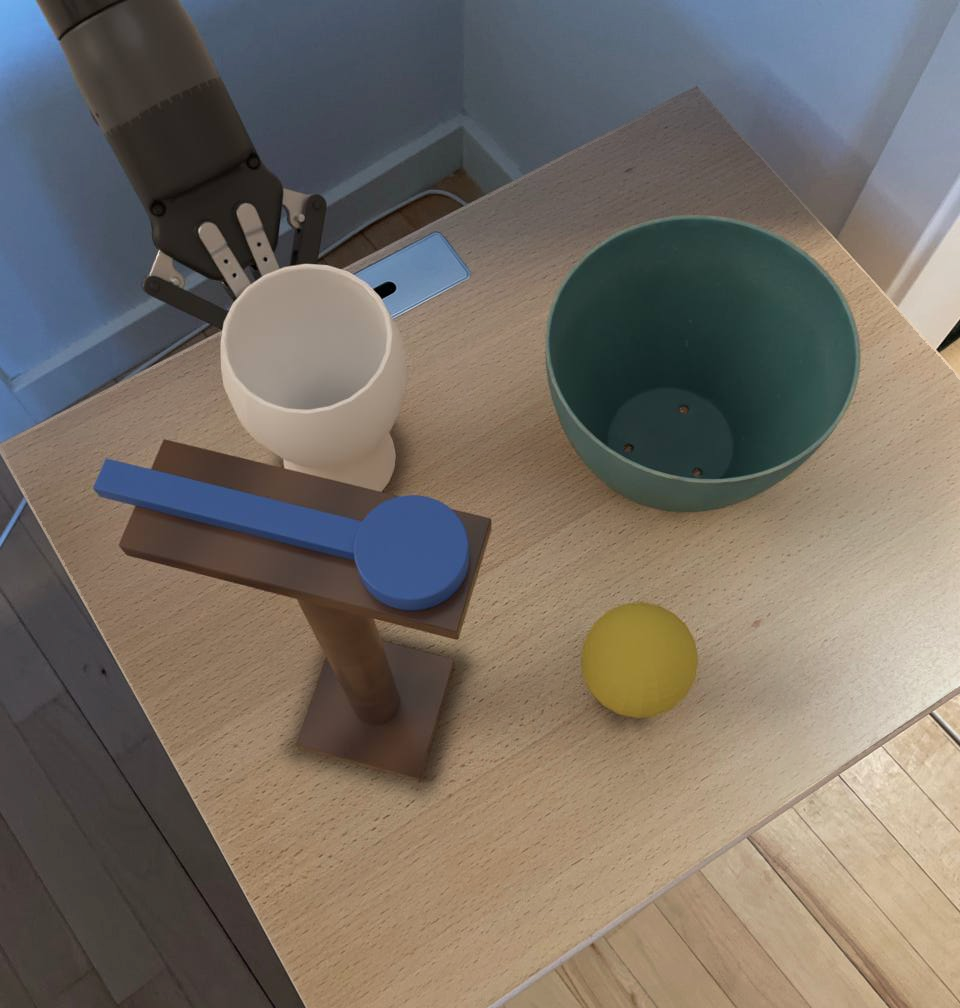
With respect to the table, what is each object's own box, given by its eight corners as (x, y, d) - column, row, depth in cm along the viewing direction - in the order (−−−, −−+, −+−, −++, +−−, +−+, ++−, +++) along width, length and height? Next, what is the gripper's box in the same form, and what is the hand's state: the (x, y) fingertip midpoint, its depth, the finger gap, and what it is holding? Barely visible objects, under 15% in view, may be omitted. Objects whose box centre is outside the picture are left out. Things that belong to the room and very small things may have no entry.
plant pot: (822, 558, 68) (889, 469, 56) (549, 577, 68) (560, 491, 56) (778, 328, 74) (830, 204, 62) (527, 345, 74) (532, 224, 62)
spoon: (85, 530, 41) (73, 516, 39) (126, 436, 42) (116, 420, 41) (452, 623, 39) (450, 612, 38) (482, 522, 40) (482, 509, 39)
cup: (445, 479, 70) (440, 361, 56) (313, 558, 68) (271, 458, 54) (364, 365, 73) (339, 223, 58) (234, 438, 71) (175, 311, 56)
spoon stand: (253, 736, 64) (103, 579, 40) (294, 622, 67) (176, 407, 42) (466, 794, 63) (446, 668, 38) (500, 675, 65) (501, 485, 41)
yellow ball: (699, 707, 64) (733, 658, 55) (612, 763, 63) (632, 724, 54) (637, 623, 66) (660, 562, 57) (552, 677, 65) (561, 624, 56)
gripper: (55, 144, 54) (220, 432, 63) (272, 41, 56) (404, 333, 65) (54, 155, 61) (204, 414, 69) (249, 62, 63) (372, 324, 71)
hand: (301, 374), depth 67 cm, fingers closed
